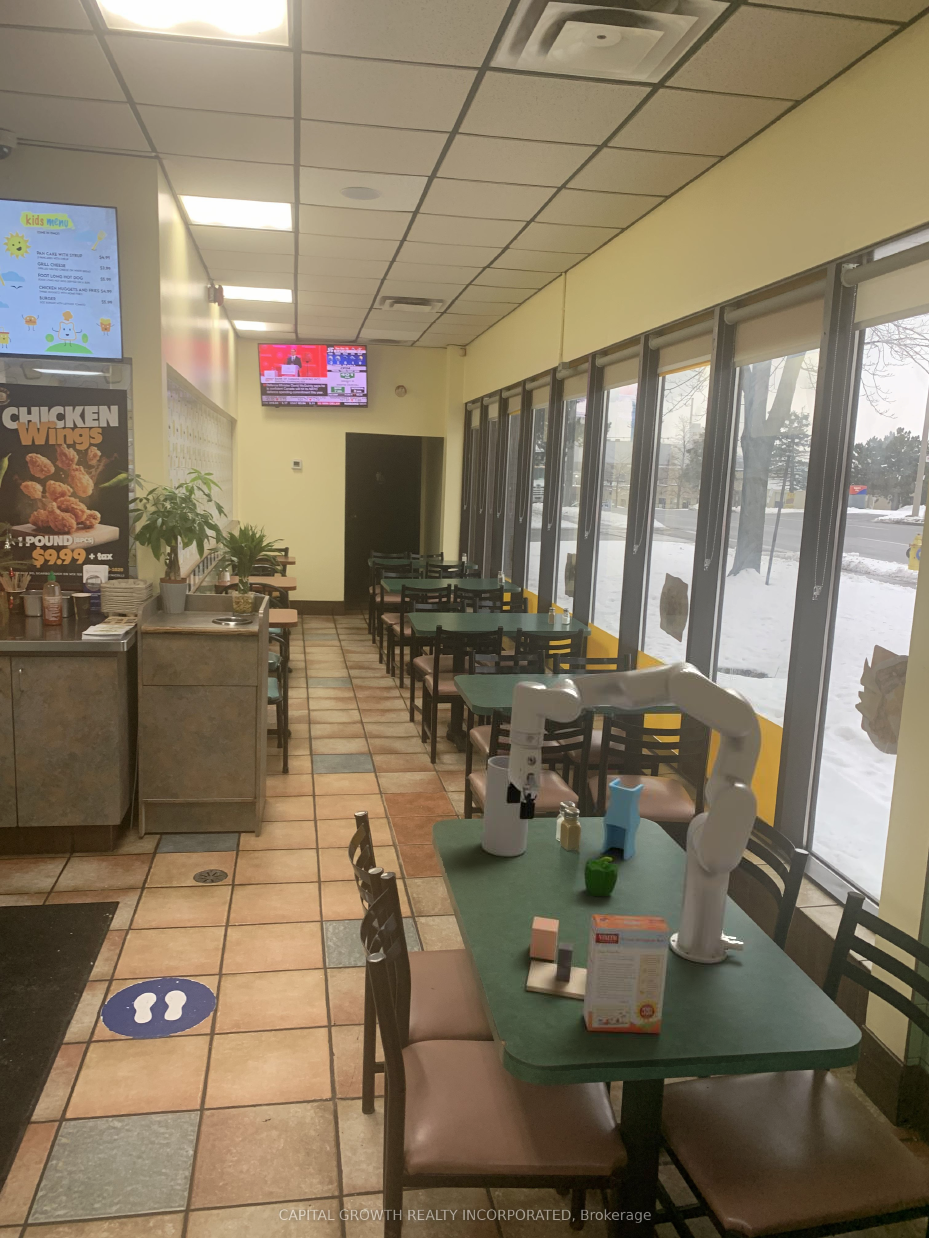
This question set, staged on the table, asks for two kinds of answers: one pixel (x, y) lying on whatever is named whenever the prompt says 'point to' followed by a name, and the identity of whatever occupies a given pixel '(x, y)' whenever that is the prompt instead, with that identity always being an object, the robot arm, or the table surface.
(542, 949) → the pale pink upright block
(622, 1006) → the cracker box
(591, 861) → the bell pepper
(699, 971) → the table surface
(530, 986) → the post
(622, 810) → the light blue tall piece
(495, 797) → the cylinder vase
